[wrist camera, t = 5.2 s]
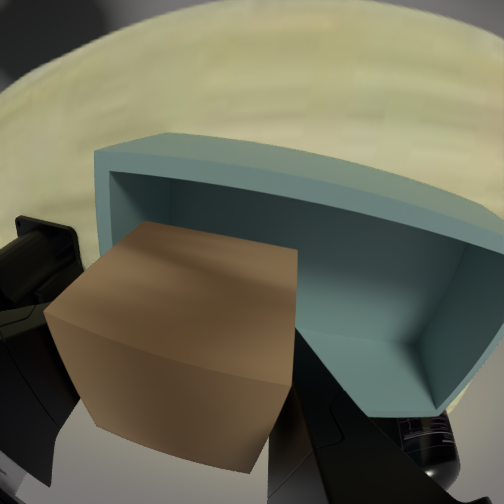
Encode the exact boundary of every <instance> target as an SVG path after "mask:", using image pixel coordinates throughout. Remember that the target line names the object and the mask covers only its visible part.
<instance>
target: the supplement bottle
mask: <svg viewBox="0 0 504 504" xmlns="http://www.w3.org/2000/svg"><path fill="white" fill-rule="evenodd" d="M369 418H370V419H371V420H372V421H373V422H374V423H375V424H376V425H377V426H378V427H379V428H380V429H381V430H382V431H383V432H384V433H385V434H386V435H387V436H388V437H389V438H390V439H391V440H392V441H393V442H394V443H395V444H396V445H397V446H398V447H399V448H400V449H401V450H402V451H403V452H404V453H406V454H407V455H408V456H409V457H410V458H411V459H412V460H413V461H414V462H415V463H416V464H417V465H418V466H419V467H420V468H421V469H422V470H424V471H425V472H426V473H427V474H428V475H429V476H430V477H431V478H432V479H433V480H434V481H435V482H437V483H438V484H439V485H440V486H441V487H442V488H443V489H444V490H445V491H447V490H448V489H449V488H450V486H451V485H452V484H453V483H454V482H455V480H456V479H457V477H458V475H459V472H460V459H459V455H458V451H457V447H456V444H455V439H454V436H453V432H452V429H451V425H450V422H449V418H448V415H447V412H446V409H445V410H444V411H443V412H442V413H441V414H440V415H439V416H430V417H369Z"/></svg>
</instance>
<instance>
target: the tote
mask: <svg viewBox="0 0 504 504" xmlns="http://www.w3.org/2000/svg"><path fill="white" fill-rule="evenodd" d="M94 178H95V203H96V218H97V230H98V240H99V249H100V257H102V256H103V255H104V254H105V253H106V252H107V251H108V250H110V249H111V248H112V247H113V246H114V245H116V244H117V243H118V242H119V241H120V240H121V239H123V238H124V237H125V236H126V235H127V234H129V233H130V232H131V231H132V230H134V229H135V228H136V227H137V226H139V225H140V224H141V223H142V222H144V221H149V222H155V223H160V224H166V225H171V226H176V227H182V228H187V229H192V230H197V231H203V232H208V233H213V234H218V235H224V236H229V237H234V238H239V239H244V240H250V241H255V242H260V243H265V244H270V245H275V246H280V247H285V248H290V249H295V250H298V260H297V293H296V318H295V327H296V329H297V330H298V331H299V332H300V334H301V335H302V336H303V338H304V339H305V340H306V341H307V343H308V344H309V345H310V347H311V348H312V349H313V350H314V352H315V353H316V354H317V356H318V357H319V358H320V359H321V361H322V362H323V363H324V364H325V366H326V367H327V368H328V370H329V371H330V372H331V373H332V375H333V376H334V377H335V378H336V380H337V381H338V382H339V384H340V385H341V386H342V387H343V389H344V390H345V391H346V392H347V393H348V394H349V396H350V397H351V398H352V399H353V400H354V402H355V403H356V404H357V405H358V406H359V408H360V409H361V410H362V411H363V412H364V413H365V414H366V415H367V416H368V417H430V416H439V415H440V414H441V413H442V412H443V411H444V410H445V409H446V408H447V407H448V406H449V405H450V403H451V402H452V401H453V400H454V399H455V398H456V397H457V396H458V395H459V393H460V392H461V391H462V390H463V389H464V388H465V387H466V385H467V384H468V383H469V382H470V381H471V379H472V378H473V377H474V376H475V374H476V373H477V372H478V371H479V369H480V368H481V367H482V365H483V364H484V363H485V362H486V360H487V359H488V357H489V356H490V355H491V353H492V352H493V351H494V349H495V348H496V346H497V345H498V343H499V342H500V340H501V339H502V337H503V336H504V220H503V219H502V218H500V217H499V216H497V215H496V214H495V213H493V212H492V211H490V210H489V209H487V208H486V207H484V206H483V205H481V204H478V203H476V202H473V201H471V200H468V199H466V198H463V197H460V196H458V195H455V194H453V193H450V192H447V191H444V190H442V189H439V188H436V187H433V186H430V185H427V184H424V183H421V182H418V181H415V180H412V179H409V178H406V177H403V176H399V175H396V174H393V173H389V172H386V171H382V170H379V169H375V168H372V167H368V166H364V165H360V164H357V163H353V162H349V161H345V160H340V159H336V158H332V157H328V156H323V155H319V154H314V153H309V152H304V151H299V150H294V149H289V148H284V147H278V146H273V145H267V144H261V143H254V142H248V141H241V140H234V139H226V138H218V137H210V136H201V135H190V134H179V133H164V134H159V135H154V136H149V137H145V138H141V139H136V140H132V141H128V142H124V143H120V144H116V145H112V146H109V147H105V148H102V149H98V150H95V151H94Z"/></svg>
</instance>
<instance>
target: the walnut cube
mask: <svg viewBox="0 0 504 504" xmlns="http://www.w3.org/2000/svg"><path fill="white" fill-rule="evenodd" d="M297 260H298V250H295V249H290V248H285V247H280V246H275V245H270V244H265V243H260V242H255V241H250V240H244V239H239V238H234V237H229V236H224V235H218V234H213V233H208V232H203V231H197V230H192V229H187V228H182V227H176V226H171V225H166V224H160V223H155V222H149V221H144V222H142V223H141V224H140V225H139V226H137V227H136V228H135V229H134V230H132V231H131V232H130V233H129V234H127V235H126V236H125V237H124V238H123V239H121V240H120V241H119V242H118V243H117V244H116V245H114V246H113V247H112V248H111V249H110V250H108V251H107V252H106V253H105V254H104V255H103V256H102V257H100V258H99V259H98V260H97V261H96V262H95V263H94V264H92V265H91V266H90V267H89V268H88V269H87V270H86V271H85V272H84V273H82V274H81V275H80V276H79V277H78V278H77V279H76V280H75V281H74V282H73V283H72V284H71V285H69V286H68V287H67V288H66V289H65V290H64V291H63V292H62V293H61V294H60V295H59V296H58V297H57V298H56V299H55V300H54V301H53V302H52V303H51V304H50V305H49V306H48V307H47V308H46V309H45V310H44V311H43V312H44V315H45V318H46V321H47V324H48V326H49V329H50V332H51V334H52V337H53V339H54V342H55V344H56V347H57V349H58V351H59V354H60V356H61V358H62V361H63V363H64V365H65V367H66V369H67V372H68V374H69V376H70V378H71V380H72V382H73V384H74V386H75V388H76V390H77V392H78V394H79V396H80V397H81V399H82V401H83V403H84V405H85V407H86V408H87V410H88V412H89V414H90V415H91V417H92V419H93V421H94V422H95V424H96V426H97V427H100V428H102V429H104V430H106V431H109V432H111V433H113V434H115V435H118V436H120V437H122V438H125V439H127V440H130V441H132V442H135V443H138V444H140V445H143V446H145V447H148V448H151V449H154V450H157V451H160V452H163V453H166V454H169V455H172V456H175V457H179V458H182V459H186V460H190V461H193V462H196V463H201V464H204V465H209V466H213V467H217V468H221V469H226V470H231V471H237V472H242V473H248V474H250V472H251V471H252V469H253V467H254V465H255V463H256V461H257V459H258V457H259V455H260V453H261V451H262V449H263V447H264V445H265V443H266V441H267V439H268V437H269V434H270V432H271V430H272V428H273V426H274V424H275V422H276V420H277V417H278V415H279V413H280V411H281V409H282V406H283V404H284V402H285V400H286V397H287V395H288V393H289V390H290V388H291V384H292V370H293V355H294V338H295V318H296V293H297Z"/></svg>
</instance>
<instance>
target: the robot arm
mask: <svg viewBox="0 0 504 504" xmlns="http://www.w3.org/2000/svg"><path fill="white" fill-rule="evenodd" d="M15 224H16V229H17V235H18V238H16V239H15V240H13V241H12V242H10V243H9V244H7V245H6V246H4V247H3V248H1V249H0V504H26V503H24V502H23V501H22V500H20V499H19V498H18V497H16V496H15V495H16V493H17V491H18V489H19V486H20V485H21V483H22V481H23V479H24V477H25V475H26V473H27V472H28V473H29V474H31V475H32V476H33V477H35V478H36V479H37V480H39V481H40V482H42V483H43V484H45V485H46V486H48V487H50V485H51V479H52V465H53V455H54V446H55V441H56V437H57V435H58V433H59V431H60V429H61V428H62V426H63V425H64V423H65V422H66V420H67V418H68V417H69V415H70V414H71V412H72V411H73V409H74V407H75V406H76V405H77V403H78V401H79V400H80V398H81V397H80V396H79V394H78V392H77V390H76V388H75V386H74V384H73V382H72V380H71V378H70V376H69V374H68V372H67V369H66V367H65V365H64V363H63V361H62V358H61V356H60V354H59V351H58V349H57V347H56V344H55V342H54V339H53V337H52V334H51V332H50V329H49V326H48V324H47V321H46V318H45V315H44V312H43V311H44V310H45V309H46V308H47V307H48V306H49V305H50V304H51V303H52V302H53V301H54V300H55V299H56V298H57V297H58V296H59V295H60V294H61V293H62V292H63V291H64V290H65V289H66V288H67V287H68V286H69V285H71V284H72V283H73V282H74V281H75V280H76V279H77V278H78V277H79V276H80V275H81V274H82V268H81V262H80V256H79V249H78V242H77V235H76V232H75V230H74V229H73V228H72V227H69V226H65V225H61V224H56V223H52V222H48V221H43V220H39V219H35V218H30V217H26V216H22V215H21V216H18V217H17V218H16V219H15ZM69 235H70V236H69ZM267 498H268V500H267V504H492V502H491V500H490V499H489V497H482V498H480V499H477V500H474V501H471V502H467V503H464V502H460V501H457V500H456V499H454V498H453V497H452V496H451V495H450V494H449V493H448V492H446V491H445V490H444V489H443V488H442V487H441V486H440V485H439V484H438V483H437V482H435V481H434V480H433V479H432V478H431V477H430V476H429V475H428V474H427V473H426V472H425V471H424V470H422V469H421V468H420V467H419V466H418V465H417V464H416V463H415V462H414V461H413V460H412V459H411V458H410V457H409V456H408V455H407V454H406V453H404V452H403V451H402V450H401V449H400V448H399V447H398V446H397V445H396V444H395V443H394V442H393V441H392V440H391V439H390V438H389V437H388V436H387V435H386V434H385V433H384V432H383V431H382V430H381V429H380V428H379V427H378V426H377V425H376V424H375V423H374V422H373V421H372V420H371V419H370V418H369V417H368V416H367V415H366V414H365V413H364V412H363V411H362V410H361V409H360V408H359V406H358V405H357V404H356V403H355V402H354V400H353V399H352V398H351V397H350V396H349V394H348V393H347V392H346V391H345V390H344V389H343V387H342V386H341V385H340V384H339V382H338V381H337V380H336V378H335V377H334V376H333V375H332V373H331V372H330V371H329V370H328V368H327V367H326V366H325V364H324V363H323V362H322V361H321V359H320V358H319V357H318V356H317V354H316V353H315V352H314V350H313V349H312V348H311V347H310V345H309V344H308V343H307V341H306V340H305V339H304V338H303V336H302V335H301V334H300V332H299V331H298V330H297V329H296V327H295V338H294V355H293V370H292V384H291V388H290V390H289V393H288V395H287V397H286V400H285V402H284V404H283V406H282V409H281V411H280V413H279V415H278V417H277V420H276V422H275V424H274V426H273V428H272V430H271V432H270V434H269V460H268V497H267Z"/></svg>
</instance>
